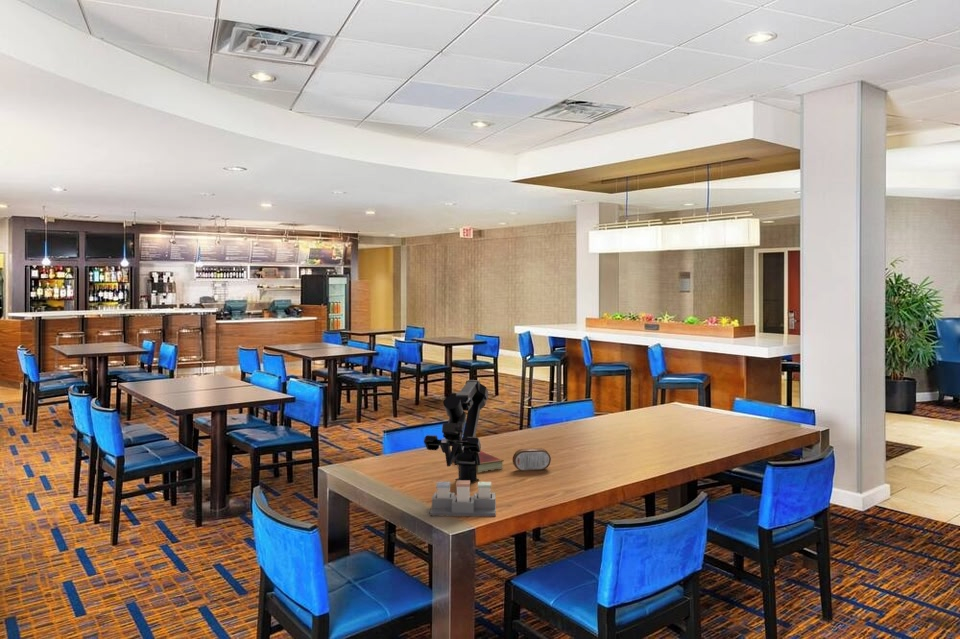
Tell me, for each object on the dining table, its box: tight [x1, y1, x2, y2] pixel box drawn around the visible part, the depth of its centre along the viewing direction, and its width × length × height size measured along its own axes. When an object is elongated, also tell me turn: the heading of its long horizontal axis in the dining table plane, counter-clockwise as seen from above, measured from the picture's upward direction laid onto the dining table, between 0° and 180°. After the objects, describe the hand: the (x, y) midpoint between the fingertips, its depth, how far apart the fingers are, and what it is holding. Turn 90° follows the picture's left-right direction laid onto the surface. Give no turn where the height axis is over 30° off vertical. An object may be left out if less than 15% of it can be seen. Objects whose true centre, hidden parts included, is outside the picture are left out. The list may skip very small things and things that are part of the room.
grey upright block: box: [435, 481, 452, 498], centre depth 211 cm, size 4×4×7 cm
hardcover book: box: [476, 449, 505, 473], centre depth 265 cm, size 12×21×4 cm, turn 28°
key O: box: [477, 481, 492, 498], centre depth 211 cm, size 4×4×7 cm
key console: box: [429, 492, 497, 517], centre depth 209 cm, size 11×20×4 cm, turn 88°
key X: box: [455, 480, 471, 502], centre depth 207 cm, size 4×4×7 cm
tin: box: [512, 447, 552, 472], centre depth 257 cm, size 15×3×8 cm, turn 100°
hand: (448, 465), depth 217 cm, fingers closed
